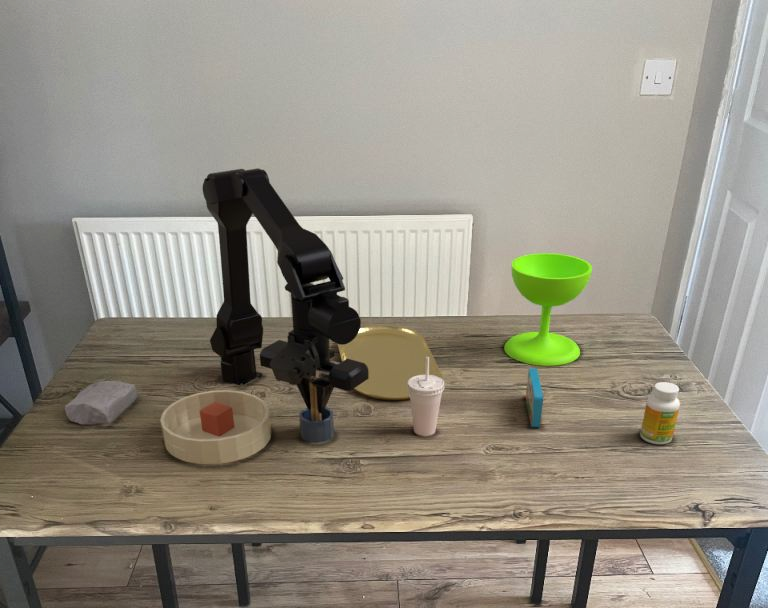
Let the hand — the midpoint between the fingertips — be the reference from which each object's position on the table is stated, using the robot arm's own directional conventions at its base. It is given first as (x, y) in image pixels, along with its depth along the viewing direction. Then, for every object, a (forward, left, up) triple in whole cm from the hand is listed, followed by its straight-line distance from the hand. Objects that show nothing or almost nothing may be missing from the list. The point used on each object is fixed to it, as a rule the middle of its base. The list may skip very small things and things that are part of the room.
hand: (315, 410), depth 137 cm
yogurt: (-28, +28, -5) cm, 40 cm away
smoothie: (-11, +15, -5) cm, 20 cm away
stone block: (+14, -40, -5) cm, 43 cm away
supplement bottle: (-31, +50, -5) cm, 59 cm away
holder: (0, 0, -5) cm, 5 cm away
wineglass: (-55, +18, -5) cm, 59 cm away
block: (+8, -16, -5) cm, 18 cm away
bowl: (+10, -14, -5) cm, 18 cm away
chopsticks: (0, 0, -5) cm, 5 cm away
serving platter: (-32, -6, -5) cm, 33 cm away
